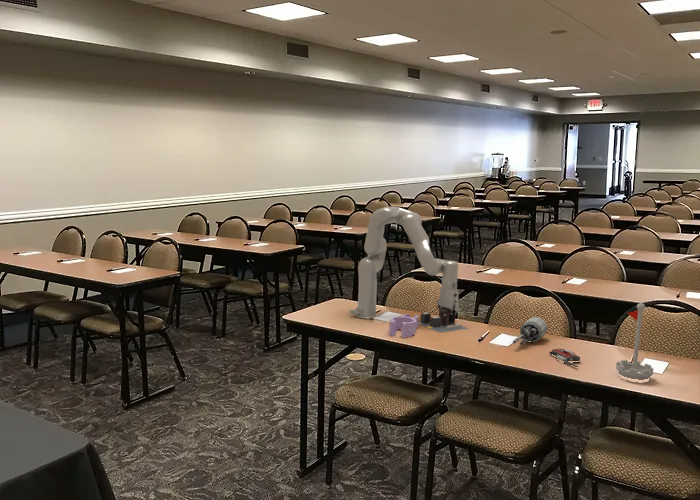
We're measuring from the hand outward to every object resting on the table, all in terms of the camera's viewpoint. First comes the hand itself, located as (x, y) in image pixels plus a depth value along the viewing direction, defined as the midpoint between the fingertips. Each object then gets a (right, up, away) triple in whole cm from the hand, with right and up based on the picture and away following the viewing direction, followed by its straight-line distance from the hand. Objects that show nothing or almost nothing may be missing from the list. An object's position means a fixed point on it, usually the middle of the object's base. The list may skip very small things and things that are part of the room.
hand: (446, 320), depth 297 cm
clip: (-22, -5, -12) cm, 26 cm away
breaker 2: (-6, -3, -4) cm, 8 cm away
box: (0, -2, 0) cm, 2 cm away
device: (+34, -8, -24) cm, 42 cm away
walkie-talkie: (+43, -12, -48) cm, 66 cm away
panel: (-3, -4, -2) cm, 5 cm away
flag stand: (+62, -15, -66) cm, 92 cm away
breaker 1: (-10, -1, +3) cm, 11 cm away
